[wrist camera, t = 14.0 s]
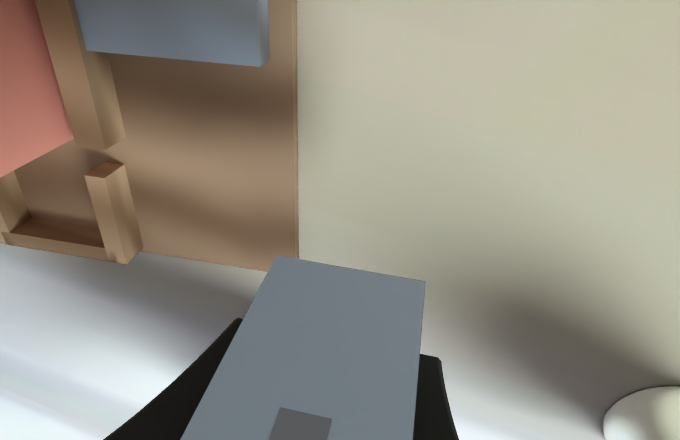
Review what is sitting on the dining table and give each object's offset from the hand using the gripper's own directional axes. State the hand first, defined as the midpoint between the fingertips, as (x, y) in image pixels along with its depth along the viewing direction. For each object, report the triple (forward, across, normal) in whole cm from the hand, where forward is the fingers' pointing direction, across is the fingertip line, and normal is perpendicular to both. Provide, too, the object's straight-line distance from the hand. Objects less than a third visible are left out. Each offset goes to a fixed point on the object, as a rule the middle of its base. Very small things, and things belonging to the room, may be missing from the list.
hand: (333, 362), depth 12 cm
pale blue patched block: (+2, 0, 0) cm, 2 cm away
